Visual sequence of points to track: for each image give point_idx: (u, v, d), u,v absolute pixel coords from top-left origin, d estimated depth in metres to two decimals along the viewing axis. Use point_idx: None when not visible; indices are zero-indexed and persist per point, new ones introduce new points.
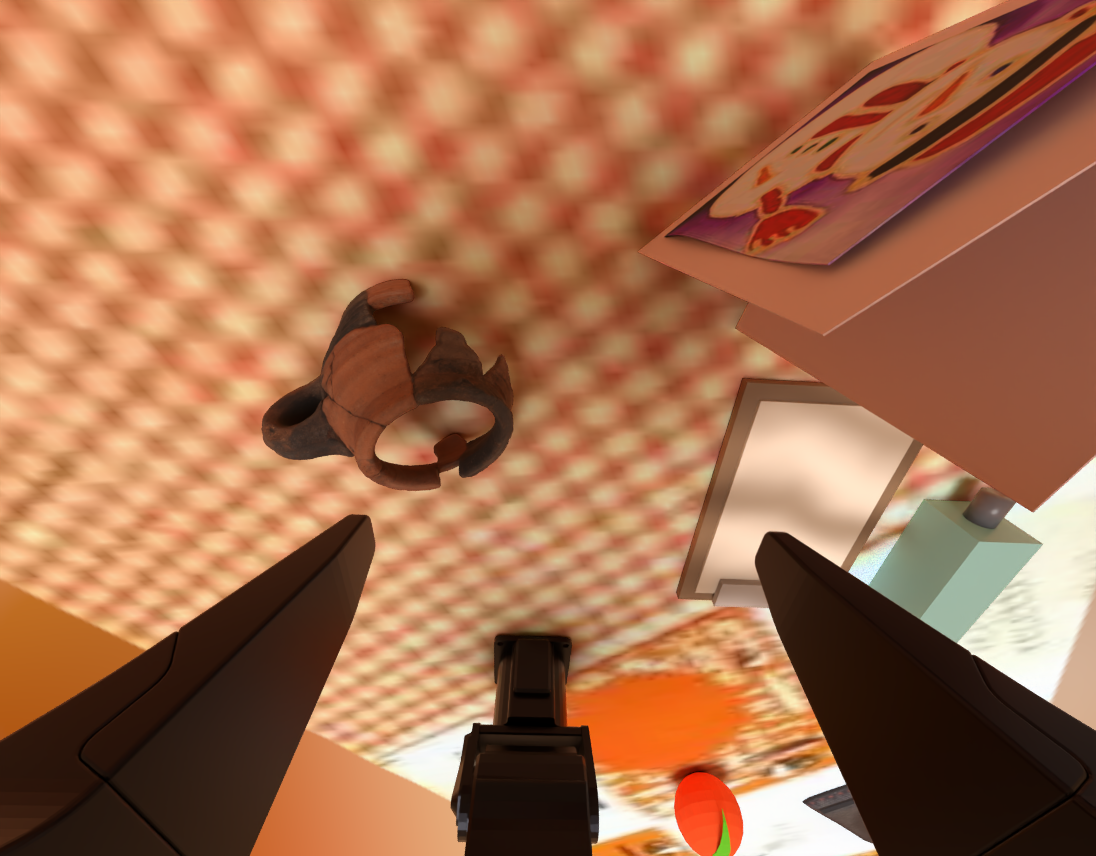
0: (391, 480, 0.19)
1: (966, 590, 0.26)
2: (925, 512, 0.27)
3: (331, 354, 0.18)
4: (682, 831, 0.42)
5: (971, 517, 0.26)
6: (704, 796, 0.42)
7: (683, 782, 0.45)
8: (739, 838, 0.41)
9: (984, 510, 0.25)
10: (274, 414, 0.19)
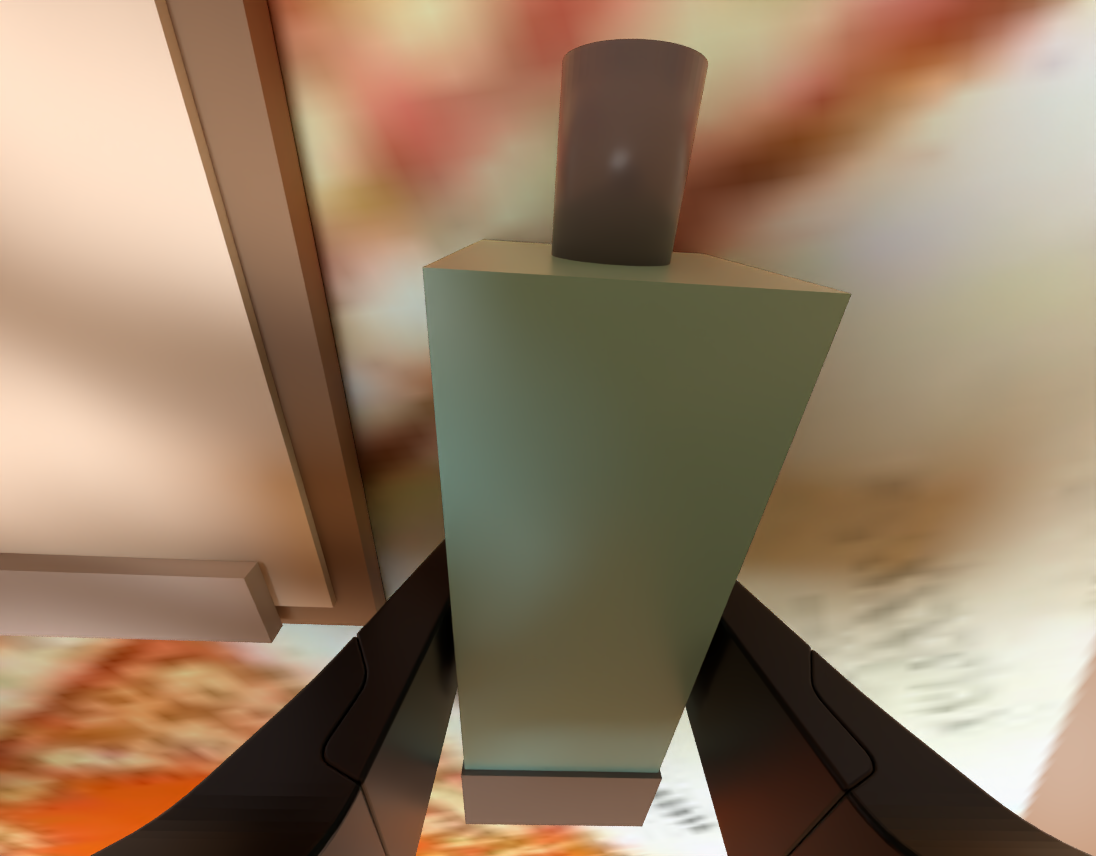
0: None
1: (562, 588, 0.06)
2: None
3: None
4: None
5: (554, 232, 0.05)
6: None
7: None
8: None
9: (566, 155, 0.05)
10: None
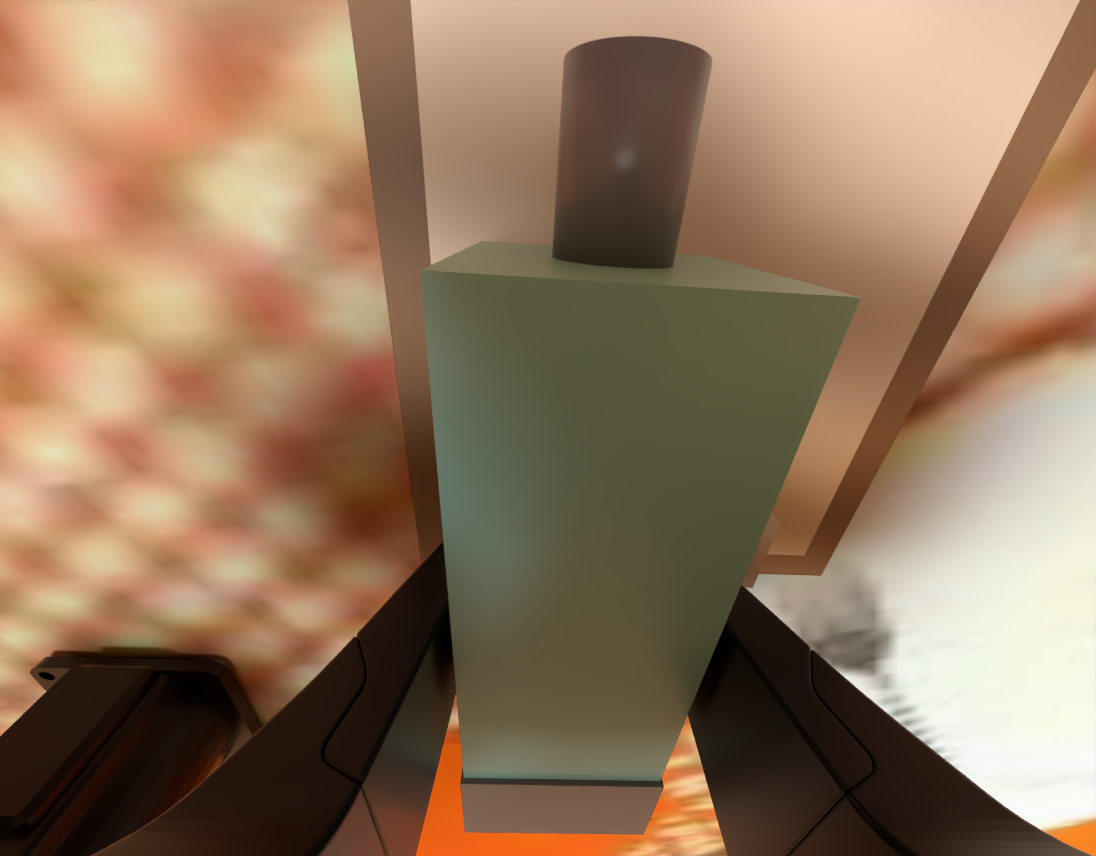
0: None
1: (563, 596, 0.06)
2: None
3: None
4: None
5: (555, 234, 0.05)
6: None
7: None
8: None
9: (568, 155, 0.04)
10: None
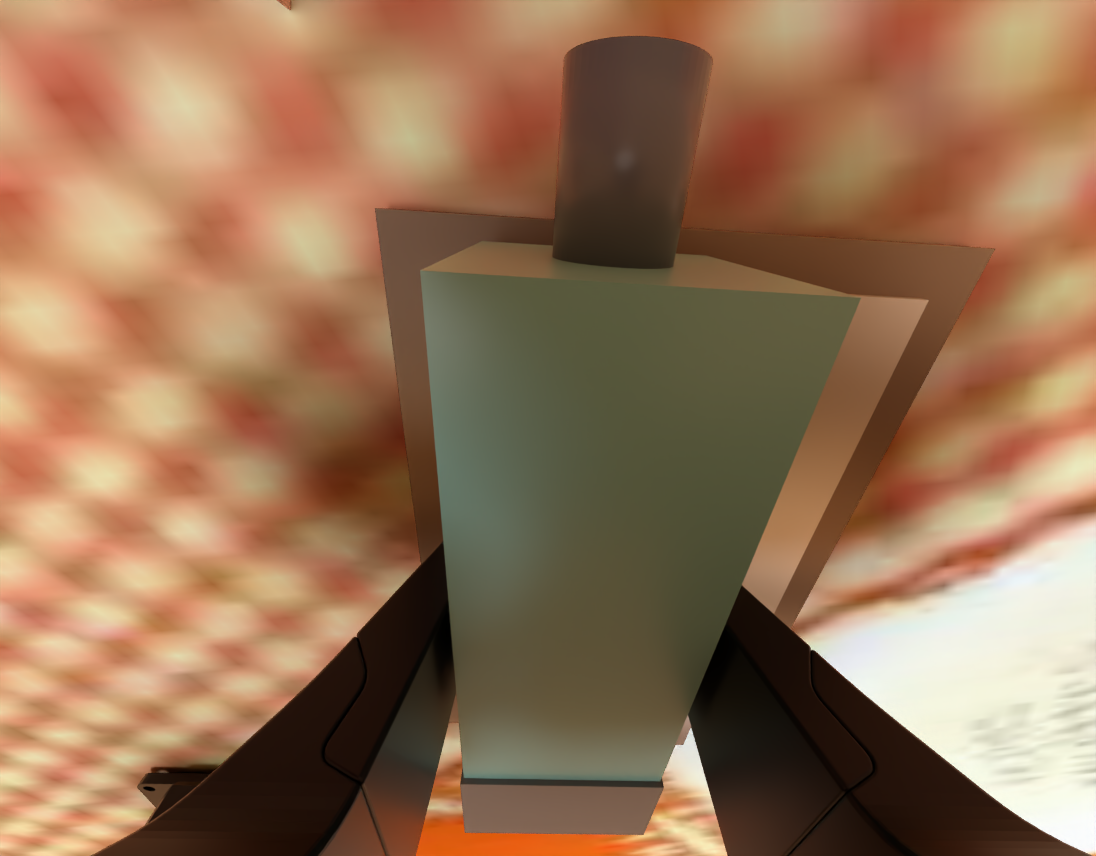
0: None
1: (563, 596, 0.06)
2: None
3: None
4: None
5: (555, 234, 0.05)
6: None
7: None
8: None
9: (568, 155, 0.04)
10: None
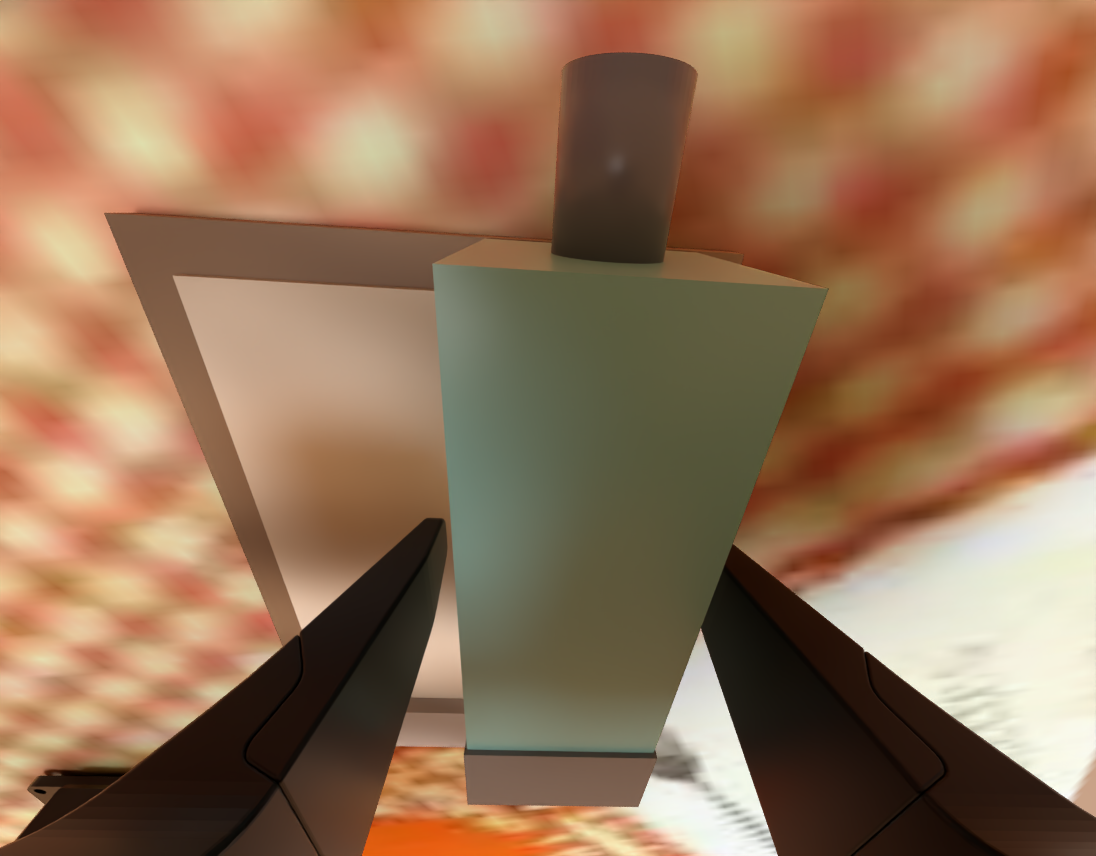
0: None
1: (561, 569, 0.06)
2: None
3: None
4: None
5: (553, 232, 0.06)
6: None
7: None
8: None
9: (565, 159, 0.05)
10: None
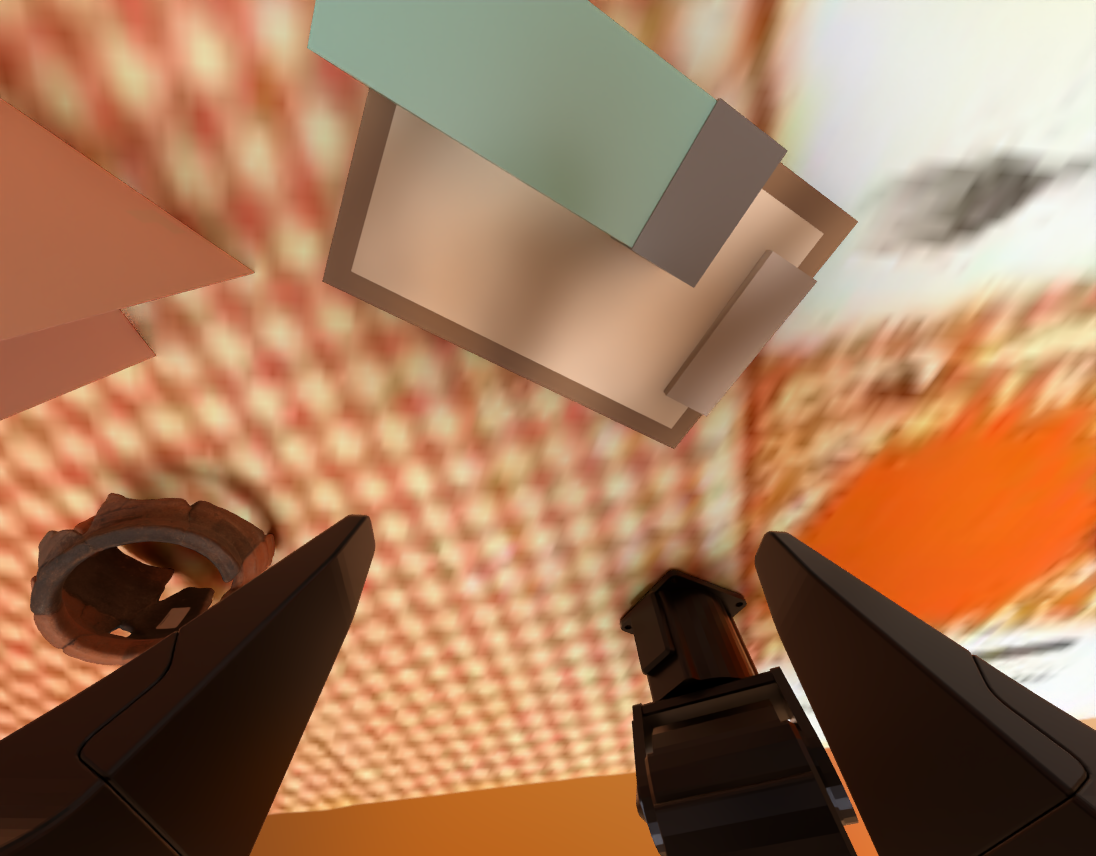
0: None
1: (488, 77, 0.10)
2: None
3: None
4: None
5: None
6: None
7: None
8: None
9: None
10: None
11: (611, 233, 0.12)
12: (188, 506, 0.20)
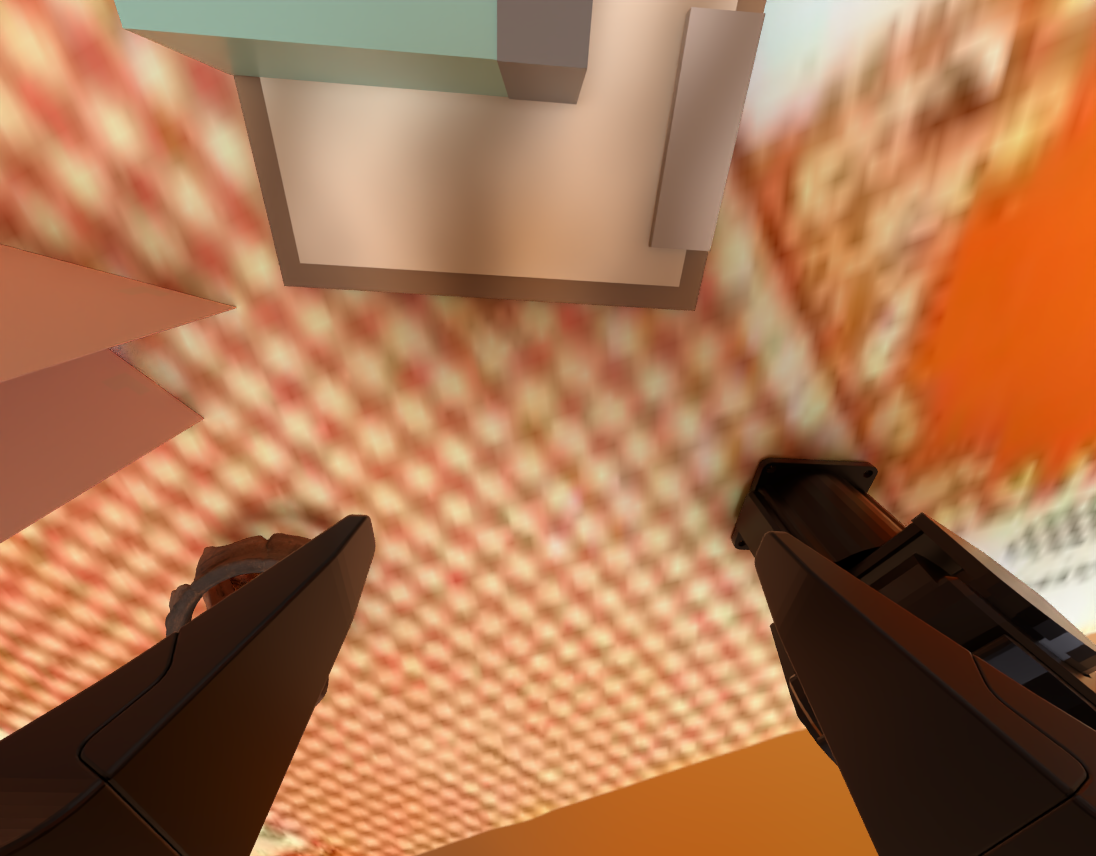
0: None
1: None
2: (239, 71, 0.13)
3: None
4: None
5: None
6: None
7: None
8: None
9: None
10: None
11: (468, 55, 0.11)
12: (264, 540, 0.22)
